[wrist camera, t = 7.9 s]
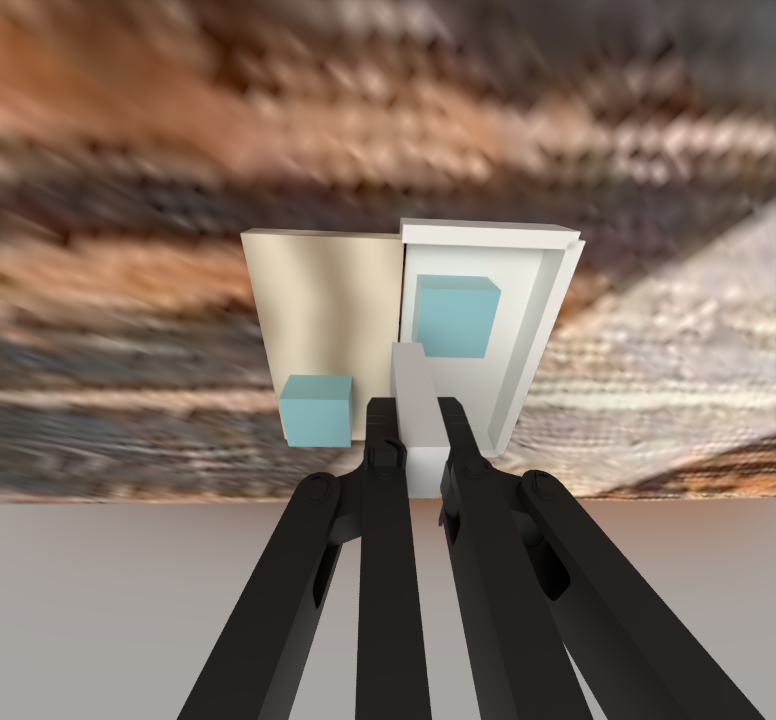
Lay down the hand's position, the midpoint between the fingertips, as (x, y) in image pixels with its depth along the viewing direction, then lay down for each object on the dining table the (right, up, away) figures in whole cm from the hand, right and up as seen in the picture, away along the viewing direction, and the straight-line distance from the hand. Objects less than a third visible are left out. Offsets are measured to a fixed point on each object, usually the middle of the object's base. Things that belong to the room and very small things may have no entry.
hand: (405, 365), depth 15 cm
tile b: (-6, -3, +10) cm, 12 cm away
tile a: (+4, +4, +7) cm, 9 cm away
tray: (+5, +1, +10) cm, 11 cm away
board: (-5, +1, +9) cm, 11 cm away
